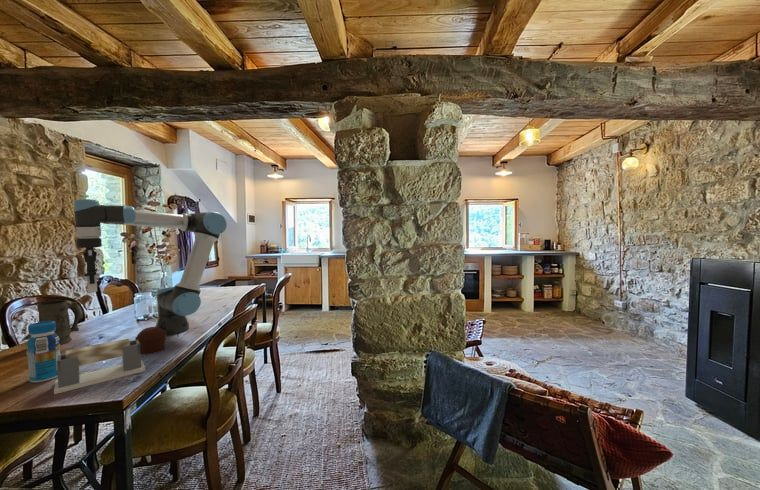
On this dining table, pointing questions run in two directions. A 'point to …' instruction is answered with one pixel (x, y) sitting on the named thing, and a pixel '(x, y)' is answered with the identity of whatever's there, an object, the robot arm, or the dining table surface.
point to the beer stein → (60, 317)
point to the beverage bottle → (42, 351)
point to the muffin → (151, 340)
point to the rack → (73, 379)
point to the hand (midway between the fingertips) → (92, 289)
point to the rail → (98, 352)
